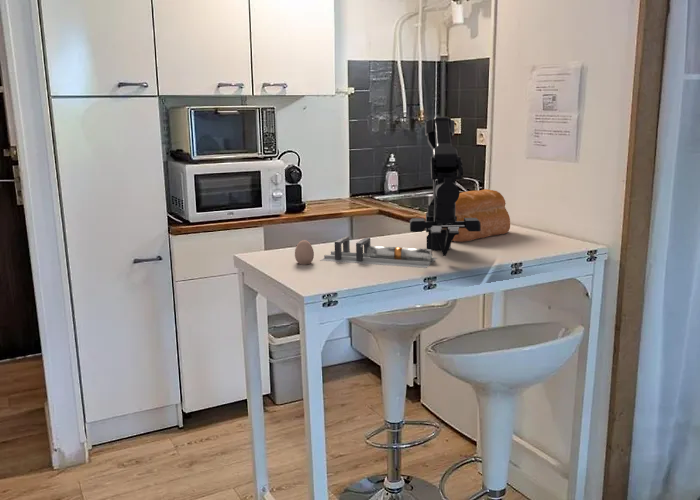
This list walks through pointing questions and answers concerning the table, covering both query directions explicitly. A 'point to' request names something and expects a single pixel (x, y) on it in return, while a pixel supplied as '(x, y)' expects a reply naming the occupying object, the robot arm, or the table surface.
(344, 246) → the collar
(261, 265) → the table surface
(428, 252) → the tube
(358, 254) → the dark gray arch
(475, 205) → the bread
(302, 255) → the egg
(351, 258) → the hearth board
